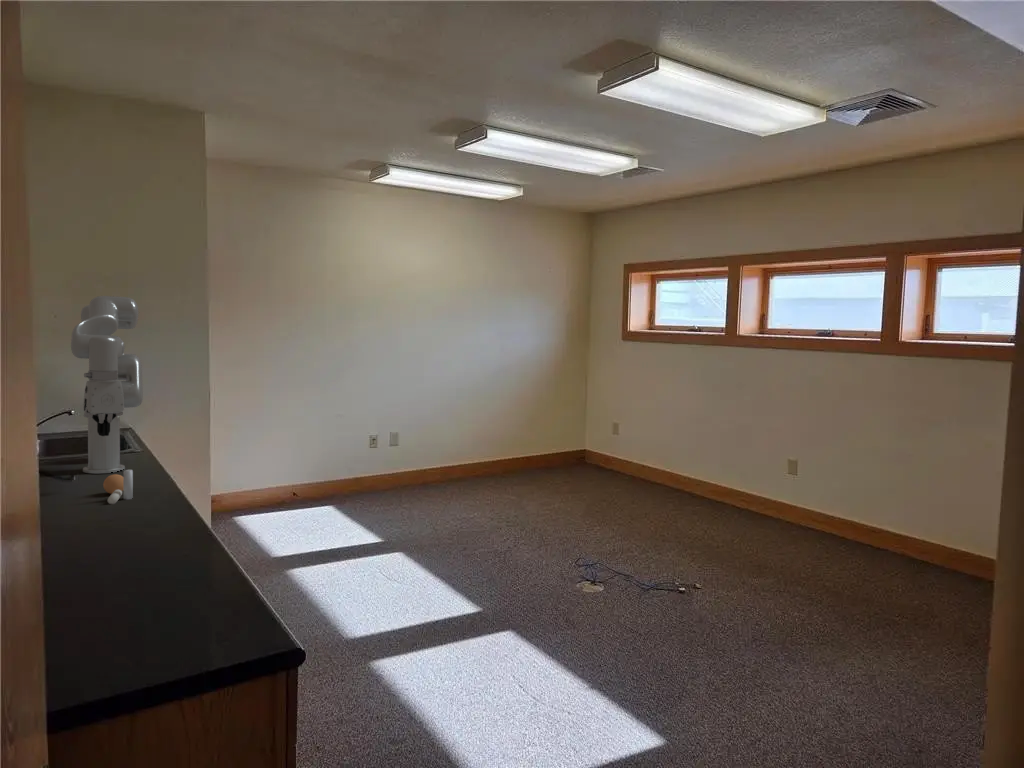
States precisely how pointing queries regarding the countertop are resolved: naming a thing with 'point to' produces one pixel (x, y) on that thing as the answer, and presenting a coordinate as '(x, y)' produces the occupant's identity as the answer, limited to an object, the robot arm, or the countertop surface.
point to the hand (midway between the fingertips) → (103, 435)
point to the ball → (113, 483)
